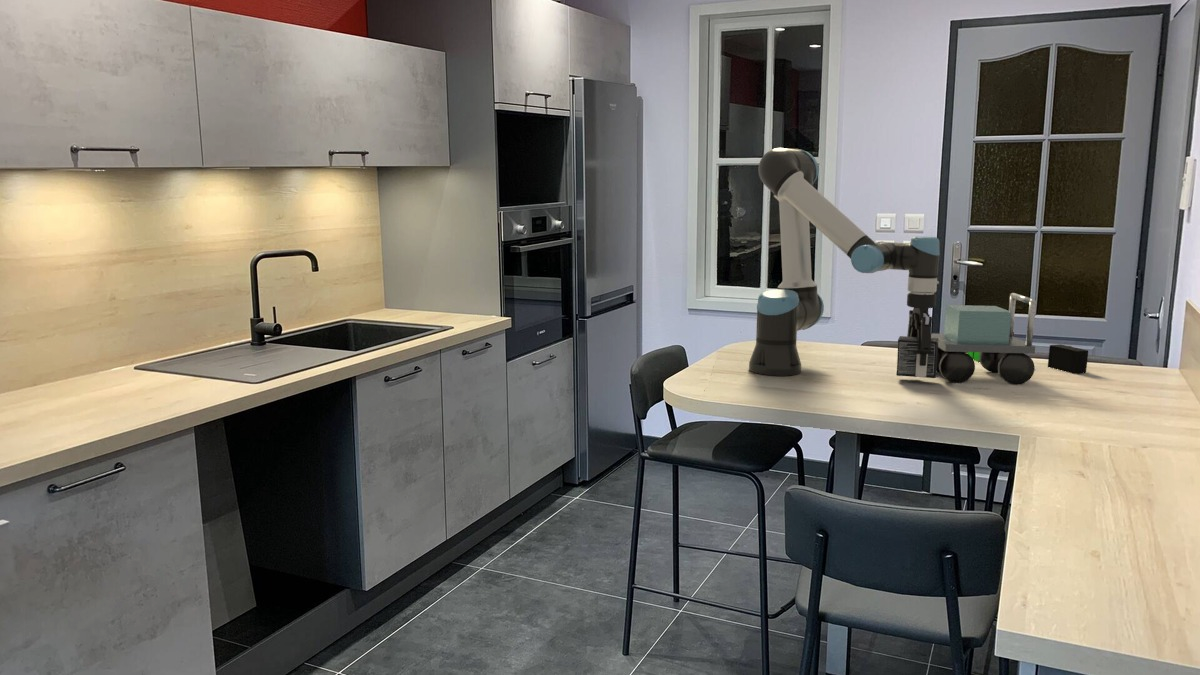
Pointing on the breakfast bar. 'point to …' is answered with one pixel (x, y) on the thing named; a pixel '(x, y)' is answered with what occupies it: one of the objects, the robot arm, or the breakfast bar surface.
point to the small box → (915, 357)
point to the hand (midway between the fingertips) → (916, 373)
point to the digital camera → (1068, 359)
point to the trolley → (985, 342)
